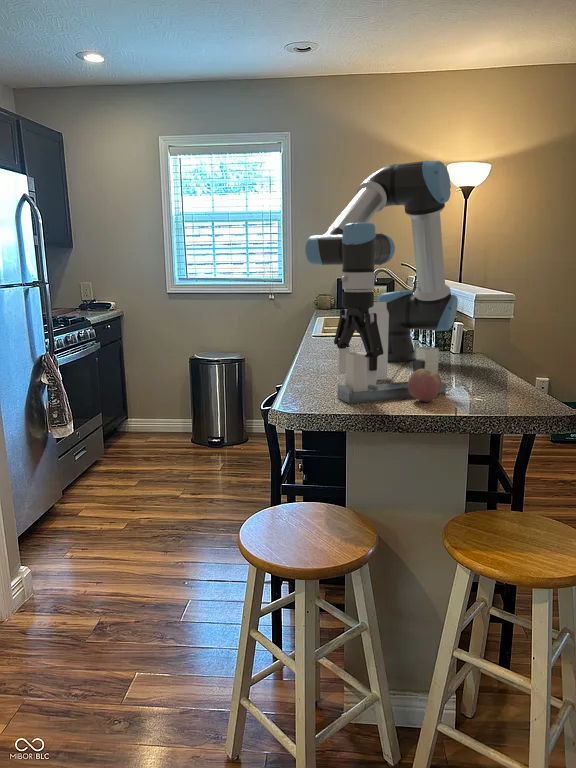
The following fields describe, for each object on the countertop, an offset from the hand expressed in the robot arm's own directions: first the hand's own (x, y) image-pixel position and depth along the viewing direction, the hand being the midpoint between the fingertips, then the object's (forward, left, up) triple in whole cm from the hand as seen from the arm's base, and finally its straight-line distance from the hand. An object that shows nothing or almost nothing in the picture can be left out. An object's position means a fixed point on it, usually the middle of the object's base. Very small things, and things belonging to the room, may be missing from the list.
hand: (356, 378), depth 138 cm
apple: (-14, +8, -6) cm, 17 cm away
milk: (-17, -21, -6) cm, 28 cm away
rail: (-10, 0, -5) cm, 12 cm away
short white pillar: (0, 0, -3) cm, 3 cm away
